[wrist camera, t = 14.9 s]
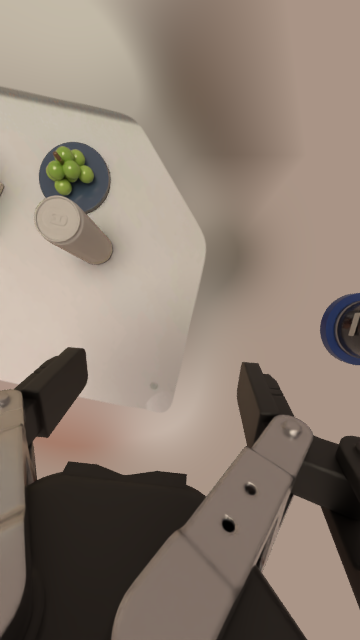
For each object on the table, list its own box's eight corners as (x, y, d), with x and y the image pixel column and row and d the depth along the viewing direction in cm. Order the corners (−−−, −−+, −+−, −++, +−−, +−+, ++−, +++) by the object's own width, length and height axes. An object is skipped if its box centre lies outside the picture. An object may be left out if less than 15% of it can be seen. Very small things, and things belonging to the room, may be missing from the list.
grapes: (116, 154, 35) (103, 120, 29) (102, 221, 36) (86, 202, 29) (49, 138, 35) (21, 101, 29) (36, 206, 35) (5, 184, 29)
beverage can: (84, 229, 36) (37, 188, 24) (116, 236, 36) (85, 200, 24) (78, 261, 36) (28, 237, 24) (109, 268, 36) (75, 248, 24)
